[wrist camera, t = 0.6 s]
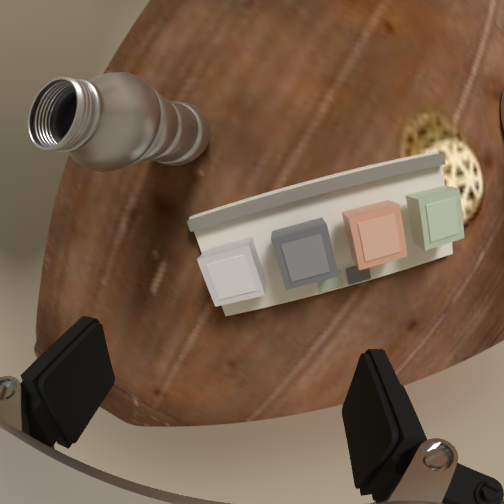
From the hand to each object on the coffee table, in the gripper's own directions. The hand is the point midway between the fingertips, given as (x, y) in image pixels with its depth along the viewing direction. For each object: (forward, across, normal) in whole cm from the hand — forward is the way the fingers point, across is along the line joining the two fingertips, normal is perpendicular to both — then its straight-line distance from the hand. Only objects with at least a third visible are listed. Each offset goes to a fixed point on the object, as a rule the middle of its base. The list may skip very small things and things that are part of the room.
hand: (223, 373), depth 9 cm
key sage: (+20, -18, -4) cm, 27 cm away
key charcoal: (+20, -4, +1) cm, 20 cm away
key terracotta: (+20, -11, -1) cm, 23 cm away
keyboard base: (+22, -8, 0) cm, 24 cm away
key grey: (+20, +2, +4) cm, 20 cm away
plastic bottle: (+23, +9, -10) cm, 26 cm away
